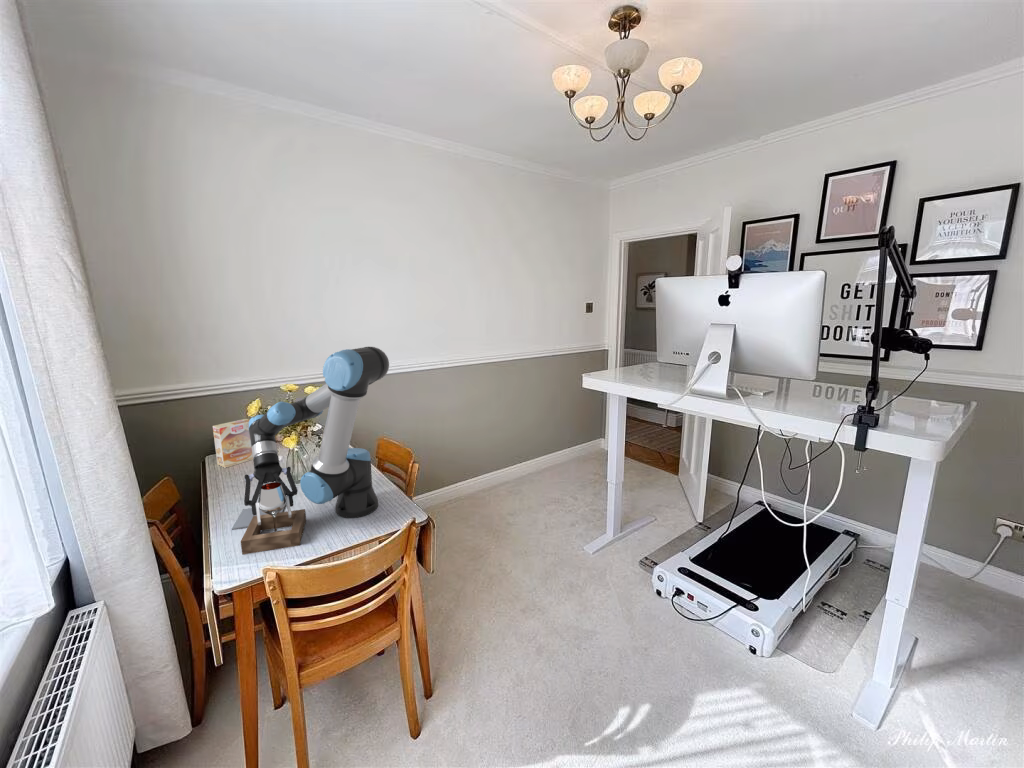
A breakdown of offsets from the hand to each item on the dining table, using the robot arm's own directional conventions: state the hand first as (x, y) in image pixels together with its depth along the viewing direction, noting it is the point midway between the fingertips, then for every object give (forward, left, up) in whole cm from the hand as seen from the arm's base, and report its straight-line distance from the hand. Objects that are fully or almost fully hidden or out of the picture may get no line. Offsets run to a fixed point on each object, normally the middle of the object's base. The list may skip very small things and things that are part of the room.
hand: (275, 519), depth 133 cm
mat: (+9, -19, -8) cm, 23 cm away
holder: (+1, -3, -8) cm, 8 cm away
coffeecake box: (+31, -81, -8) cm, 87 cm away
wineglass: (+1, -3, -8) cm, 8 cm away
